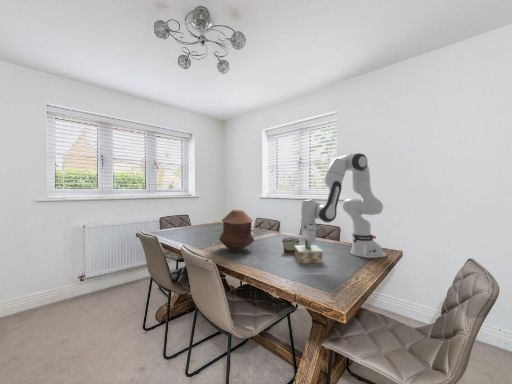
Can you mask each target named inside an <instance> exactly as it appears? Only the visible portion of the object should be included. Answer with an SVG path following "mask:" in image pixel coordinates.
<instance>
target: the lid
mask: <svg viewBox="0 0 512 384" xmlns="http://www.w3.org/2000/svg"><path fill="white" fill-rule="evenodd" d="M307 244H308V241H305V240H304V244H303V245H301V244H298V245H294V247H295V248H296V249H297V251H298V252H299V253H322V254H323V253H324V250H323V249H321V248H320V247H319V246H317V245H316V244H311V247H307Z"/></svg>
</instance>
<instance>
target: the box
mask: <svg viewBox="0 0 512 384" xmlns="http://www.w3.org/2000/svg"><path fill="white" fill-rule="evenodd" d="M294 257H295V258H296V260H297V261H298V263H299V264H323V253H299V252H298V251H297V249H296V248H295V253H294Z"/></svg>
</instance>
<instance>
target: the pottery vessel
mask: <svg viewBox="0 0 512 384" xmlns="http://www.w3.org/2000/svg"><path fill="white" fill-rule="evenodd" d="M221 222H223V223H222V224H223V225H222V226H223V227H222V233H221V234H220V237H219V238H218V239H219V241H220V243H221V244H223V246H225V247H226V248H227V249H228V250H229V252H232V253H239V252H242V251H243V250H244V249H245V248H247V247H248V246H249V245H251V244H253V242H254V241H255V239H254V236H253V234H252V223H253V222H254V220H253V219H252V218H251V217H250V216H249V215H248V214H247V213H246V211H244V210H242V209H231V211H230V212H228V213H227V215H226V216H225V217H224V218H222V219H221Z"/></svg>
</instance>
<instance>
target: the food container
mask: <svg viewBox="0 0 512 384" xmlns="http://www.w3.org/2000/svg"><path fill="white" fill-rule="evenodd" d="M281 240H282V241H281V242H282V247H283V253H287V254H295V247H294V245H300V243H301V242H300V240H299V239H298V238H295V237H284V238H283V239H281Z"/></svg>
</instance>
